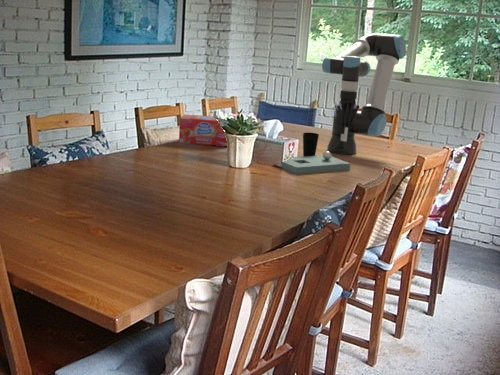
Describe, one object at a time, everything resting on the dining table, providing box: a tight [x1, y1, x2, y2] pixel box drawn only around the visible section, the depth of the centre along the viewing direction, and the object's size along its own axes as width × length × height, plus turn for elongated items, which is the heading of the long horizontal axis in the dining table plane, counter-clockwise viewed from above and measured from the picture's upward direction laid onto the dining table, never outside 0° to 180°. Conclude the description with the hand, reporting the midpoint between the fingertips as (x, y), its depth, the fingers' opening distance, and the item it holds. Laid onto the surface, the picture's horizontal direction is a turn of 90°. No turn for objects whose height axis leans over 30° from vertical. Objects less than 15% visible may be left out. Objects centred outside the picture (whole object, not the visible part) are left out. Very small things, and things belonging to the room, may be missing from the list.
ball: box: [322, 150, 332, 160], centre depth 298 cm, size 4×4×4 cm
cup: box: [302, 132, 320, 157], centre depth 313 cm, size 8×8×12 cm
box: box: [178, 114, 227, 147], centre depth 334 cm, size 27×13×14 cm, turn 81°
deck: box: [281, 154, 351, 175], centre depth 295 cm, size 30×18×3 cm, turn 120°
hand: (343, 140), depth 301 cm, fingers closed
